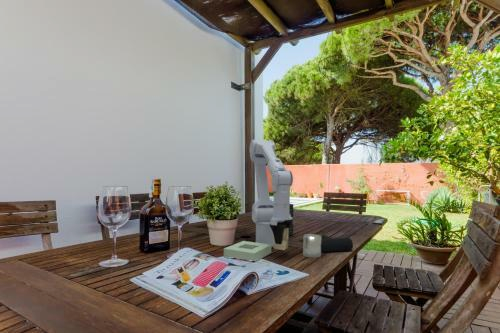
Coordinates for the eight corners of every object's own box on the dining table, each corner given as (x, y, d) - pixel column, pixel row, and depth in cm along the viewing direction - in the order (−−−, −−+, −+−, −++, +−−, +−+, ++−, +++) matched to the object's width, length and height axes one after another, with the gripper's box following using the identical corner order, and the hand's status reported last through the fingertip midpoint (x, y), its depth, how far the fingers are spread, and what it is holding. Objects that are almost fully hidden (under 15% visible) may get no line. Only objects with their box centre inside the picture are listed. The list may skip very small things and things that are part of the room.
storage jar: (270, 236, 141) (270, 204, 141) (275, 232, 150) (275, 202, 151) (291, 238, 138) (291, 205, 138) (295, 234, 147) (295, 203, 147)
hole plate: (243, 248, 118) (243, 240, 118) (271, 252, 112) (271, 244, 112) (223, 257, 105) (223, 248, 105) (254, 262, 100) (254, 253, 100)
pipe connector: (304, 234, 123) (336, 232, 127) (303, 247, 123) (335, 245, 127) (318, 240, 112) (353, 238, 116) (318, 255, 112) (352, 252, 116)
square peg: (277, 246, 110) (278, 227, 110) (288, 247, 108) (288, 228, 108) (273, 248, 106) (273, 228, 106) (284, 250, 104) (284, 229, 105)
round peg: (306, 251, 114) (306, 233, 114) (322, 254, 111) (323, 235, 111) (300, 255, 108) (301, 236, 109) (318, 258, 106) (318, 238, 106)
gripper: (284, 207, 99) (283, 248, 99) (298, 203, 112) (298, 240, 112) (265, 205, 102) (264, 245, 102) (281, 202, 115) (280, 237, 115)
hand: (280, 242), depth 107 cm, fingers closed on square peg, 4 cm apart
